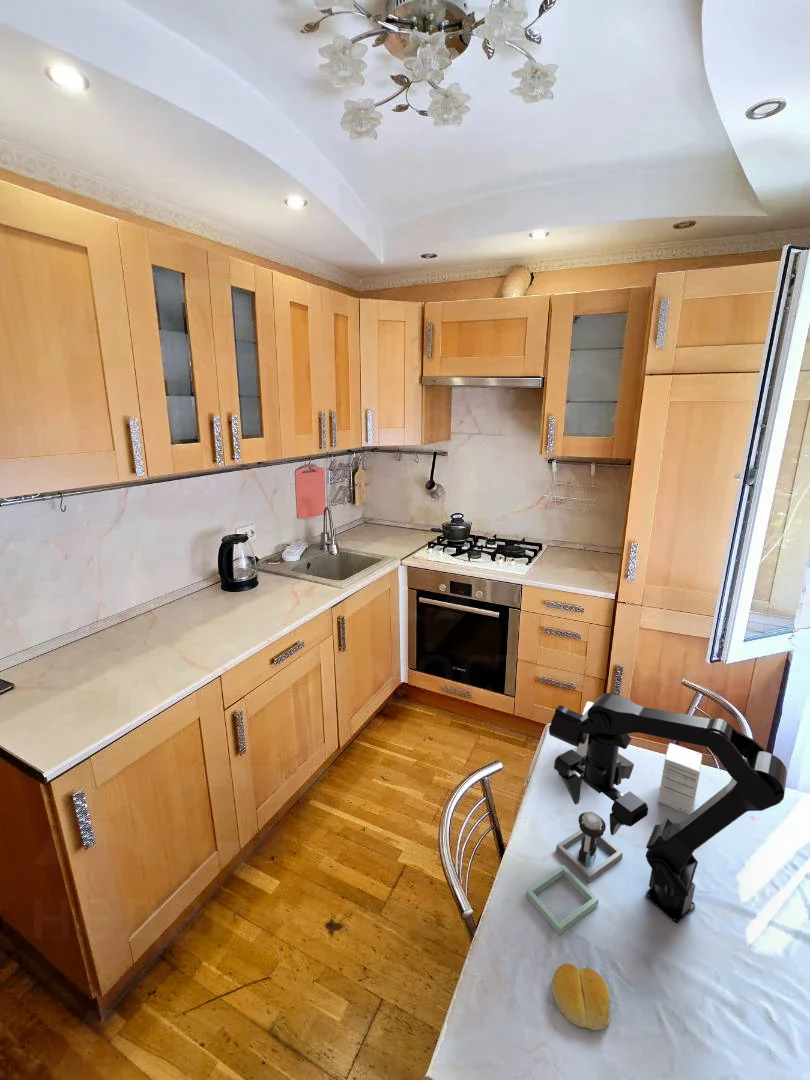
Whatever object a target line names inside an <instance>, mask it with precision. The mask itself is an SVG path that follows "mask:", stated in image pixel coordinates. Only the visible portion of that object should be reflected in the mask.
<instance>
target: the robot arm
mask: <svg viewBox="0 0 810 1080" xmlns="http://www.w3.org/2000/svg"><path fill="white" fill-rule="evenodd" d="M593 703H594V704H593V705H592V706H591V707H590V709H588V710H587V712H586V713H585V714H584V715H582V714H581V713H578V712H576V711H573V710H571V709H569V708H567V707H566V706H563V705H560V704H558V706H557V707H556V708H555V710H554V714H553V716H552V719H551V722H550V724H549V726H548V735H550V736H551V737H554V738H556V739H557V740H560V741H562V742H565V743H567V744H569V745H571V746H573V747H576V748H577V747H578V746H579V744H580V743H581V744H584V743H585V742H586V740H587V737H588V745H587V753H586V755H585V756H583V757H582V756H580V755H579V754H578V753H577V751H575V750H573V749H569V750H567V751H565V752H563V753H561V754H559V755H557V756H556V757H555V759H554V763H553V768H554V770H556V771H557V773H558V776H560V778H561V780H562V782H563V783H564V785H565V787H566V789H567V791H568V793H569V795H570V798H571V800H572V802H573V804H574V805H578V804H579V802H580V799H581V790H582V782H584V783H585V784H587V785H588V786H589V787H590V788H592V789H593V790H595V792H597V793H598V794H604V795H605V796H606V797H608V798H609V799H610V800H611V801H613V803H612V805H611V813H609V833H610V835H611V836H614V835H615V834H617V832H618V831H619V829H620V828H621V827H622V826H626V827H633V826H634V825H635V824H637V823H638V822H640V821H642V820H643V819H644V818H645V817H647V816H648V813H649V805H648V804H647V802H646V801H644V800H643V799H641V798H640V797H639V796H637V795H636V794H635V793H633V792H632V791H630V790H629V791H628V792H625V793H624V794H623V793H622V792H621V791H619V790H618V789H617V788H615V787H614V786H615V785H616V786H619V785H621V784H622V780H624V779H627V780H629V779H630V778H631V775H632V773H633V770H634V766H635V764H634V763H633V762H632V761H631V760H629V759H628V758H626V757H625V756H623V755H621V754H620V753H619V748H621V749H623V750H627V748H628V746H629V744H630V743H631V742H632V737H631V736H630V735H629V734H643V735H647V736H653V737H656V738H662V739H666V740H670V741H675V742H681V743H686V744H689V745H695V746H700V747H704V748H707V749H709V750H710V751H711V752H712V753H713V754H714V755H715V756H716V757H717V759H718V760H719V762H720V763H721V765H722V766H723V767H724V769H725V771H726V772H727V773H728V774H729V776H730V777H731V779H730V781H729V782H728V783H727V784H726V785H725V786H724V787H723V788H721V789H720V790H719V791H717V792H716V793H715V794H714V795H713V796H711V797H710V798H709V799H707V800H706V801H705V802H704V803H702V804H701V805H700V806H698V808H697V809H694V810H693V811H692V814H690V815H689V814H688V816H686V818H684V819H683V820H682V821H680V822H672V821H671V820H670V819H669V818H668V817H665V818H664V819H663V821H662V822H661V823H659V824H655V825H654V826H653V829H652V832H651V834H650V836H649V839H648V841H647V844H646V847H645V848H646V849H647V851H646V853H645V858H646V861H647V864H648V865H649V867H650V868H651V872H650V877H649V883H648V887H649V889H648V890H647V891H645V897H646V898H647V899H648V900H649V901H651V902H652V903H653V904H654V905H655V906H656V907H657V908H658V909H659V910H660V911H662V912H663V913H664V914H665V916H667V917H668V918H669V919H670V920H672V921H673V922H674V923H675V924H678V923H680V922H681V921H682V920H683V919H684V918H685V917H686V916H687V915H688V914H689V913H691V911H693V910H694V909H695V908H696V903H695V901H694V899H693V898H694V894H695V889H696V884H695V882H693V880H694V877H695V873H696V871H697V867H698V863H699V862H698V860H697V859H696V857H695V856H694V855H693V853H694V852H695V851H696V850H698V848H700V847H701V846H702V845H704V844H705V843H706V842H708V841H709V840H711V839H712V838H713V837H715V836H716V835H718V834H719V833H720V832H722V831H723V830H724V829H725V828H727V827H728V826H729V825H731V824H732V823H734V822H735V821H736V820H738V819H739V818H740V817H741V816H743V815H744V814H745V813H747V812H762V811H765V810H767V809H770V808H772V807H775V806H777V805H779V804H781V802H782V801H783V800H784V798H785V793H786V792H785V791H786V783H787V777H788V772H787V767H786V765H785V764H784V762H783V761H782V760H781V759H780V758H779V757H777V756H776V755H774V754H772V753H770V752H768V751H767V749H765V748H764V747H763V746H761V745H760V744H759V743H758V741H756V740H754V739H753V738H751V737H749V736H748V735H746V734H744V733H742V732H741V731H738V730H737V729H736V728H734V726H732V725H731V724H730V723H729V722H728V721H726V720H725V719H722V718H718V717H714V718H707V717H702V716H696V715H693V714H692V715H691V714H687V713H679V712H674V711H669V710H662V709H657V708H653V707H645V706H642V705H639V704H636V703H635V702H633V701H632V700H630V699H629V698H627V697H623V696H621V695H617V694H616V693H615V694H614V693H612V692H605V693H602V694H600V696H598V698H596V700H595V701H594V702H593ZM588 734H589V736H588ZM584 765H585V768H584V767H583V766H584Z"/></svg>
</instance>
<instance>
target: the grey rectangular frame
mask: <svg viewBox="0 0 810 1080" xmlns="http://www.w3.org/2000/svg"><path fill="white" fill-rule="evenodd" d="M584 837H585V833H583V832H582V831H581V829H579V830H578V831H575V832H574V833H573V834H571V835H569V836H568V837H566V838H565V839H564V840H562V841H560V842H559V843H557V844H556V847H555V851H556V852H557V853H558V854H559V855H560V856H562V858H563V859H564V860H565V861H566V862H567V863H568V864H569V865H570V866H571V867H572V868H573V869H575V870H576V871H577V873H579V874H580V875H581V877H583V879H584V880H586V881H587V882H588V883H590V882H592V881H593V880H595V879H596V878H597V877H598V876H600V875H601V874H602V873H604V872H605V871H606V870H608V869H609V868H611V867H612V866H614V865H615V864H616V863H618V862H619V861H620V860H622V859H623V854H624V852H623V851H622V850H620V849H619V848H618V847H617V846H616V845H614V844H613V843H612V842H611V841H610V840H609V839H607V838H606V837H605V836H604V834H603V835H602V836H601V837H596V842H597V841H598V843H600V844H601V846H603V847H604V848H606V850H607V851H609V852H610V853H611V855H610V856H609V857H607V858H606V859H604V860H603V861H602V862H600V863H599V864H598V865H596V866H595V867H594V868H592V869H591V870H590V871H589V870H588V869H587V868H586V867H585V866H584V865H583V864H582V862H580V861H579V860H578V859H576V857H574V856H573V855H572V854H571V853H570V852H569V851H568V850H567V849H568V848H570V847H571V846H572V845H574V844H575V843H576V842H578V841H579V840H582V839H583V838H584Z"/></svg>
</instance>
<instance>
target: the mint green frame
mask: <svg viewBox="0 0 810 1080" xmlns="http://www.w3.org/2000/svg"><path fill="white" fill-rule="evenodd" d="M562 877H564V878H565V879H567V881H568V882H569V883H570V884H571V885H572V886H573V887H574V888H575V889H576V890H577V891H579V893H580V894H581V895H582V896H583V897H584V898H585V899H586V900H587V902H585V903H584V904H582V905H581V906H579V907H578V909H576V910H575V911H573V912H572V913H571V914H569V915H568V916H567V917H566V918H564V919H563V920H562V921H561V922H560V921H559V920H558V918H556V916H555V915H554V914H553V913H552V912H551V911H550V910H549V908H547V906H546V905H545V904H544V903H543V902H542V901H541V900H540V898H539V897H538V896H537V894H538V893H540V892H541V891H543V890H544V889H545V888H547V887H549V886H550V885H551V884H552V883H554V882H556V881H557V880H558V879H560V878H562ZM525 897H526V898H527V899H528V900H529V901H530V903H531V904H532V905H533V906H534V907H535V908H536V909H537V911H538V912H539V913H540V914H541V916H543V918H544V919H545V920H546V921H547V923H548V924H549V925H550V926H551V927H552V928H553V929H554V931H556V933H557V934H558V935H559V936H560V935H562V934H564V932H566V931H567V930H568V929H569V928H571V927H572V926H574V925H575V924H576V923H577V922H579V921H580V920H581V919H583V917H585V916H587V914H589V913H590V912H592V911H593V910H594V909H595V908H596V907H598V906H599V898H598V897H597V896H596V895H595V894H594V893H593V892H592V891H591V890H590V889H589V888H588V887H587V886H586V885H585V883H583V881H581V880H580V879H579V878H578V877H577V876H576V875H575V874H574V873H573V872H572V871H571V870H570V869H569V868H568V867H567V866H566V865H565V864H562V865H561V866H559V867H557V868H556V869H554V870H553V871H552V872H550V873H549V874H547V875H546V876H545V877H543V878H541V879H540V880H538V881H537V882H535V883H534V884H532V885H530V887H528V888H527V889H526V890H525Z"/></svg>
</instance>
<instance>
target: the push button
mask: <svg viewBox="0 0 810 1080" xmlns="http://www.w3.org/2000/svg"><path fill="white" fill-rule="evenodd" d="M577 819H578V825H579V830H581V831H582V832H583V833H585V836H584V837H583V838H581V843H580V844H581V845H580V848H579V851H578V857H577V861H578V862H580V863H581V864H582V863H583V864H584V865H586V866H587V867H588V866H590V865H589V864H590V862H591V861H592V859H593V861H595V860H596V858H597V848H598V844H597V843H598V842H597V840H596V837H601V836H602V835H603V836H604V833H605V831H606V822H605V820H604V818H602V817H601V816H600V815H599V814H598V813H596V812H593V811H585V812H581V813H580V814H579V815H578V818H577ZM593 856H594V857H593Z"/></svg>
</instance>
